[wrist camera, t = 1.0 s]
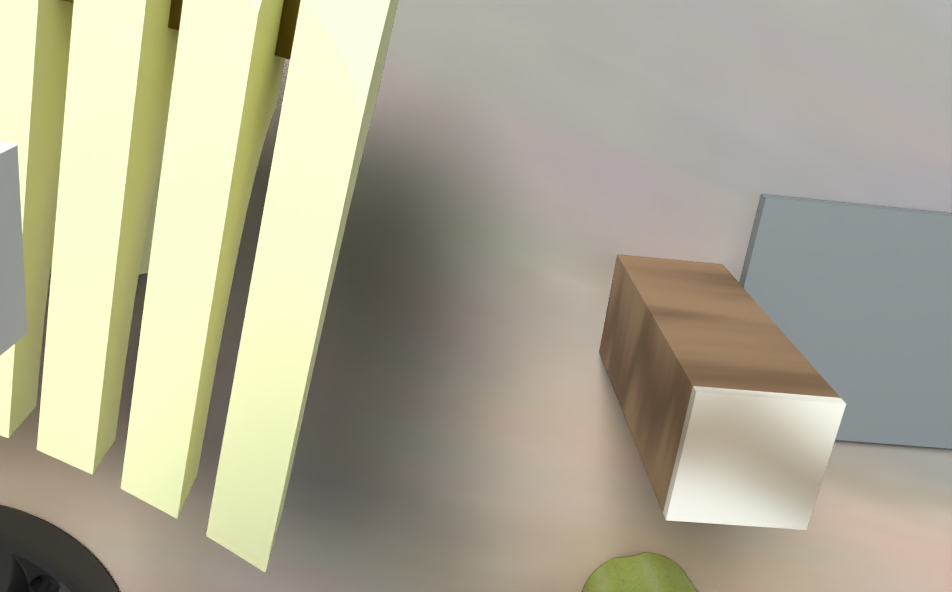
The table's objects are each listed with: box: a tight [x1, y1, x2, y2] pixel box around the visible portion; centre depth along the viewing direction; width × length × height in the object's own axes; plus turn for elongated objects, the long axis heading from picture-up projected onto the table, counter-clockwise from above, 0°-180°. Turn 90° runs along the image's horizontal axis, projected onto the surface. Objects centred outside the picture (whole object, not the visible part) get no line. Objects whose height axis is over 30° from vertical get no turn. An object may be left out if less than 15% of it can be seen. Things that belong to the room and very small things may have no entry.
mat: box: [739, 194, 952, 449], centre depth 41 cm, size 12×18×1 cm, turn 84°
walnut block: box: [599, 255, 846, 530], centre depth 34 cm, size 5×5×13 cm
